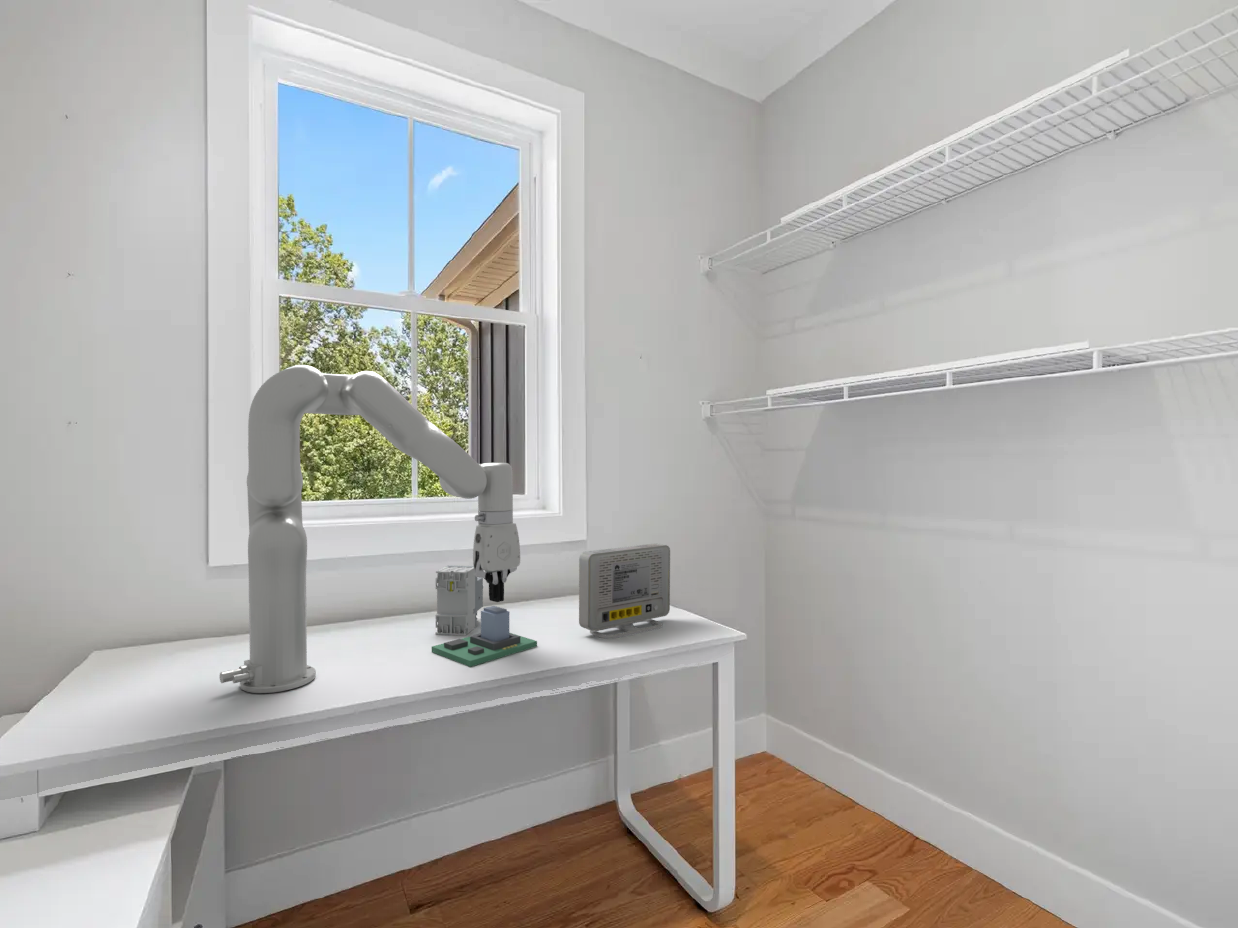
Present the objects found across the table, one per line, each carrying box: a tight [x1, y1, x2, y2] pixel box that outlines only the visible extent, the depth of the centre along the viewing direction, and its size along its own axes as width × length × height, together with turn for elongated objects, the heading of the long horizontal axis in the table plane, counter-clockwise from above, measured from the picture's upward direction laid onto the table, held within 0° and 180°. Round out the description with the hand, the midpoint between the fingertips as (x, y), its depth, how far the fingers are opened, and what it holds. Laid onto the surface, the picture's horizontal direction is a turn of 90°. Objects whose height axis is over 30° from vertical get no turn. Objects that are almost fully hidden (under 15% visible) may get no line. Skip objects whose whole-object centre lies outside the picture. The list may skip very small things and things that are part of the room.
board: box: [431, 632, 538, 668], centre depth 140 cm, size 18×14×3 cm
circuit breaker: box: [435, 565, 484, 636], centre depth 157 cm, size 8×14×15 cm, turn 174°
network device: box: [578, 543, 671, 640], centre depth 156 cm, size 26×9×20 cm, turn 128°
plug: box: [480, 605, 510, 642], centre depth 140 cm, size 4×5×8 cm
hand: (496, 600), depth 140 cm, fingers closed
